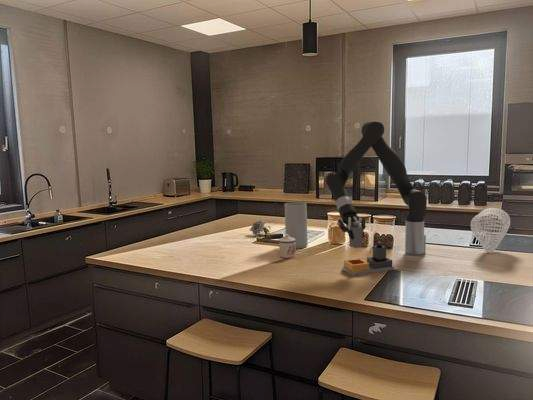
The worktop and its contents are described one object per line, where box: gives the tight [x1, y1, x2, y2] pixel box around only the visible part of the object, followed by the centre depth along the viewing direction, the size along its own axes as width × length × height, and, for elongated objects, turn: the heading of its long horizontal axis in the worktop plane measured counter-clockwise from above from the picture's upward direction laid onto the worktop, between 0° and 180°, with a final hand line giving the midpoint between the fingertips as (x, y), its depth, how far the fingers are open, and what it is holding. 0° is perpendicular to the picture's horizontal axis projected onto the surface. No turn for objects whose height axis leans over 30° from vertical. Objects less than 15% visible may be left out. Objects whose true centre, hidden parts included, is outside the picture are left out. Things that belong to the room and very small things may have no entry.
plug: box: [348, 221, 364, 248], centre depth 192 cm, size 4×4×11 cm
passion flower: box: [248, 219, 271, 237], centre depth 276 cm, size 11×11×12 cm
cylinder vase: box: [284, 201, 309, 250], centre depth 242 cm, size 12×12×25 cm
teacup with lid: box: [278, 233, 297, 259], centre depth 225 cm, size 12×9×12 cm
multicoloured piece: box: [341, 241, 395, 276], centre depth 195 cm, size 22×9×12 cm, turn 105°
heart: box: [470, 207, 511, 254], centre depth 213 cm, size 28×16×22 cm, turn 142°
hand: (357, 237), depth 191 cm, fingers closed on plug, 4 cm apart
